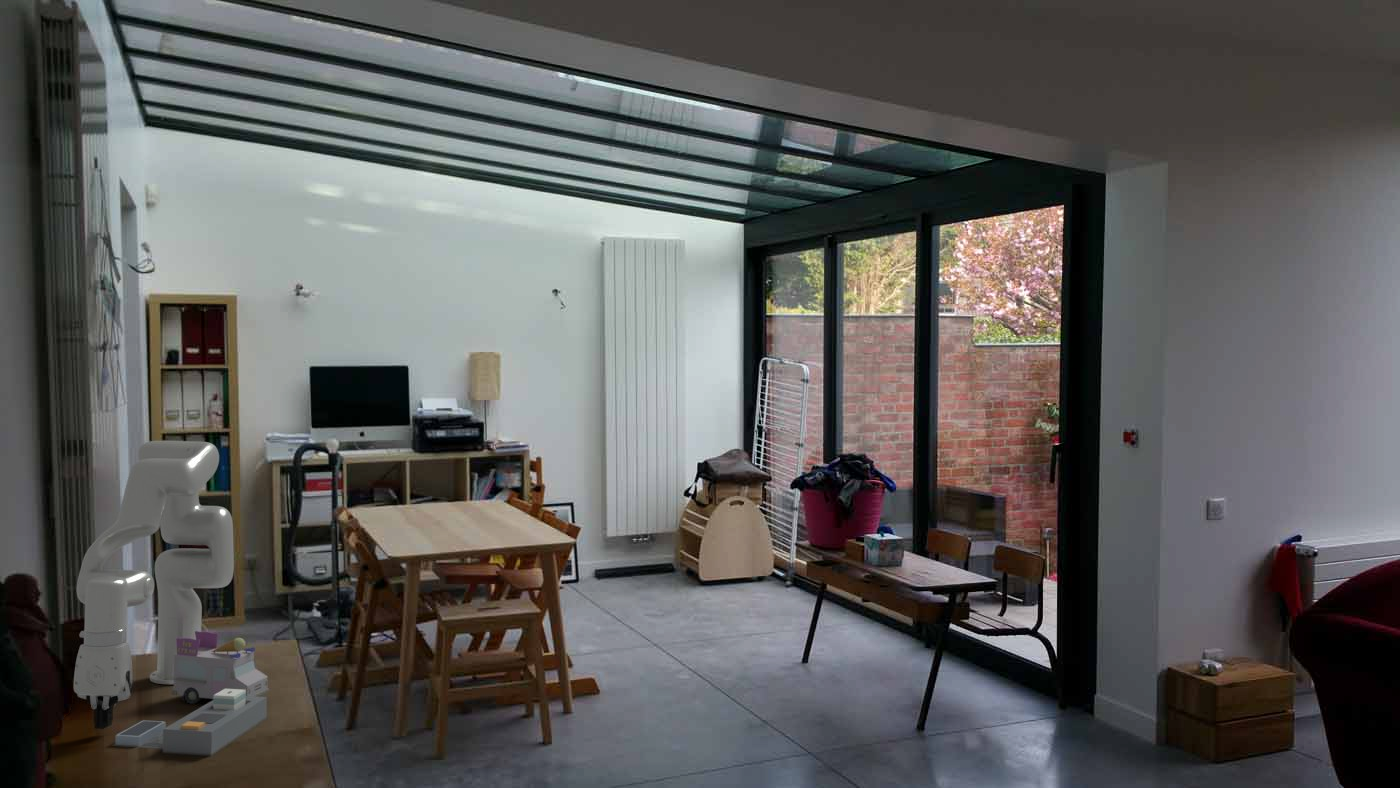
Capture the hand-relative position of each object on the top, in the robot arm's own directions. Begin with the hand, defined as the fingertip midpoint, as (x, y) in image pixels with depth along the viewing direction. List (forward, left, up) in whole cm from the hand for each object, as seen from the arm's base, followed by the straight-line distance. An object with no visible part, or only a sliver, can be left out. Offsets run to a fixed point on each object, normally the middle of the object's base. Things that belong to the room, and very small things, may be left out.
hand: (103, 726), depth 212 cm
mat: (0, +11, -2) cm, 11 cm away
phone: (0, +8, -2) cm, 8 cm away
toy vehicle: (-25, +11, -3) cm, 28 cm away
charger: (-9, +22, -2) cm, 24 cm away
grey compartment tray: (-4, +22, -2) cm, 22 cm away
